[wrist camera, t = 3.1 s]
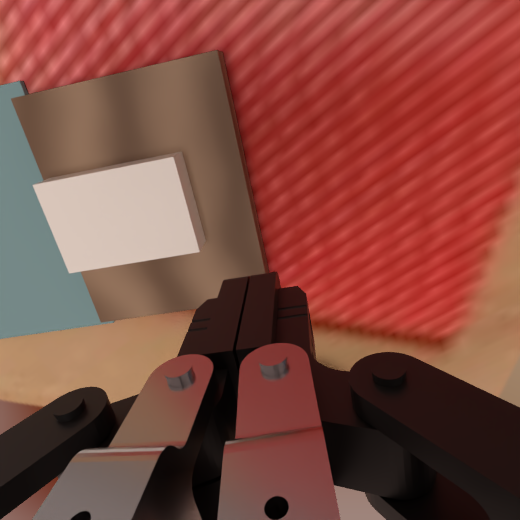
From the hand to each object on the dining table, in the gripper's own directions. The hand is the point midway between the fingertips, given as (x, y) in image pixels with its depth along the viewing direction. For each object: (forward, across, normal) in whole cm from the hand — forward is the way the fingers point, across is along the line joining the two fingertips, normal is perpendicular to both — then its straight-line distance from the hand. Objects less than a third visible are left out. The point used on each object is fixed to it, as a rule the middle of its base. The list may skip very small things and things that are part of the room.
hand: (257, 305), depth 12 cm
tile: (+16, +10, 0) cm, 18 cm away
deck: (+18, +8, 0) cm, 19 cm away
